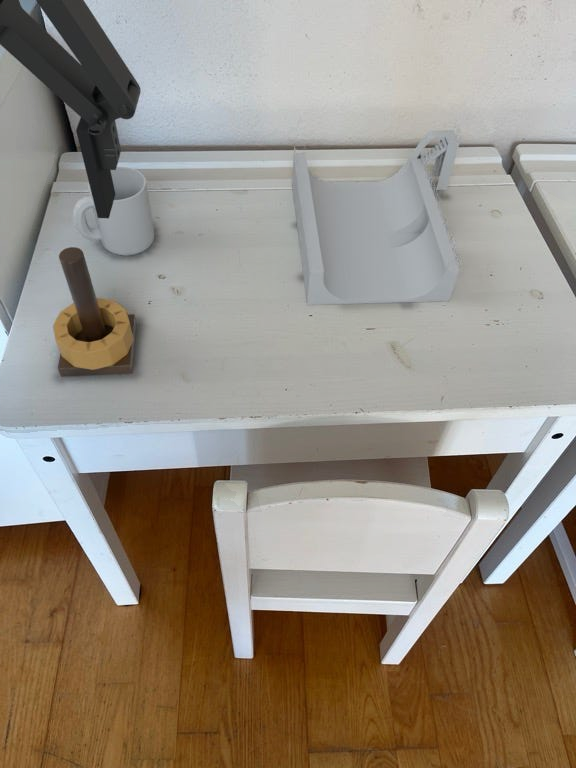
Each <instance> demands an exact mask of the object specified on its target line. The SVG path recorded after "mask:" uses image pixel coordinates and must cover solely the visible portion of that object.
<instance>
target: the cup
mask: <svg viewBox="0 0 576 768" xmlns="http://www.w3.org/2000/svg"><path fill="white" fill-rule="evenodd" d="M111 175H112V180H113V184H114V189H115V198H114V202H113V205H112V209H111V213H110V216H109V218H98V217H97V213H96V209H95V205H94V201H93V197H92V193H91V189H90V185H89V181H88V183H87V190H88V195H83V196H82V197H81V198H79V199H78V200H77V201H76V203H75V204H74V206H73V210H72V221H73V225H74V227H75V229H76V231H77V233H79V235H80V236H81V237H82V238H84V239H85V240H88V241H91V242H93V241H94V242H98V241H101V244H102V246H103V247H104V248H105V249H106V250H107V251H109V252H110V253H113V254H115V255H118V256H127V257H129V256H135V255H139V254H142V253H143V252H144V251H147V250H148V249H149V247H151V246H152V244H153V242H154V240H155V235H156V234H155V227H154V221H153V215H152V214H153V213H152V209H151V208H152V207H151V203H150V197H149V190H148V185H147V180H146V176H145V175H144V174H143V173H142V172H140V171H139V170H137V169H136V168H133V167H129V166H128V167H127V166H117V167H116V170H111ZM90 209H92V210H93V214H94V218H95V221H96V226H97V227H95V228H91V227H90V225H89V223H88V221H87V211H89V210H90Z"/></svg>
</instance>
